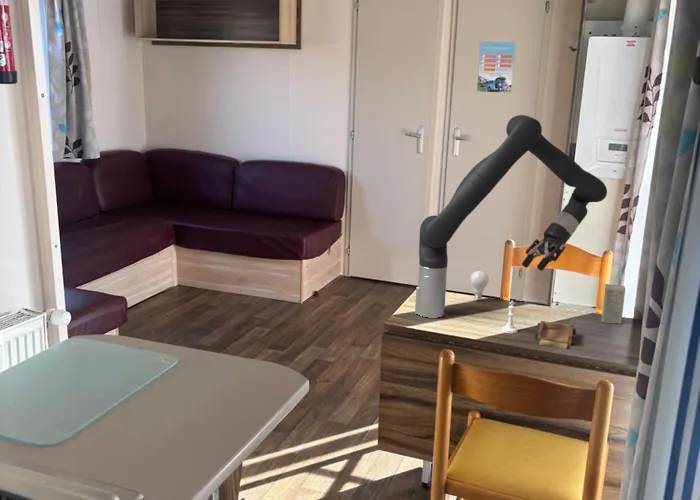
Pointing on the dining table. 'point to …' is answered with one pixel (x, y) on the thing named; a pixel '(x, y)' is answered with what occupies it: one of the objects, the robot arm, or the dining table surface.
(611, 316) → the skincare box
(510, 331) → the chess piece
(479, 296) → the lightbulb
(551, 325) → the truck bed
